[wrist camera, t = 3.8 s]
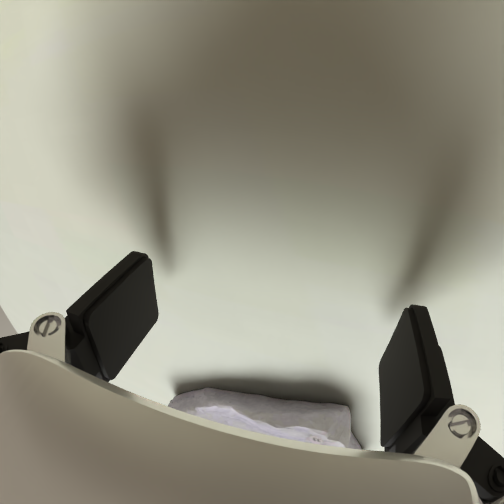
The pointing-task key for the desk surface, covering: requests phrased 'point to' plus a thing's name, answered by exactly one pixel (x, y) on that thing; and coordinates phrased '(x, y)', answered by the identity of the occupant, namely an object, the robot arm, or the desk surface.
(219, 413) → the stone block
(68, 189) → the desk surface
